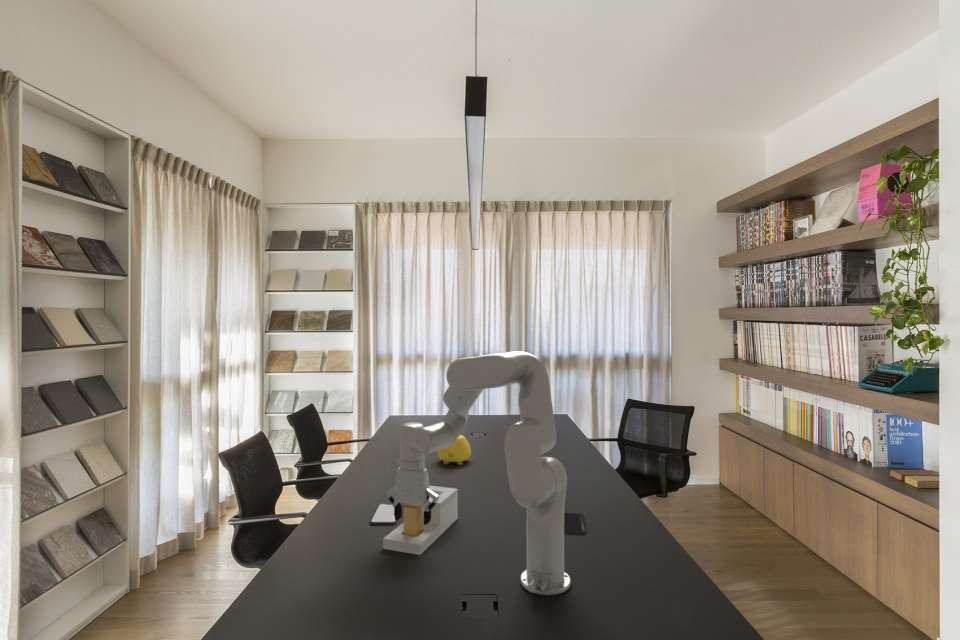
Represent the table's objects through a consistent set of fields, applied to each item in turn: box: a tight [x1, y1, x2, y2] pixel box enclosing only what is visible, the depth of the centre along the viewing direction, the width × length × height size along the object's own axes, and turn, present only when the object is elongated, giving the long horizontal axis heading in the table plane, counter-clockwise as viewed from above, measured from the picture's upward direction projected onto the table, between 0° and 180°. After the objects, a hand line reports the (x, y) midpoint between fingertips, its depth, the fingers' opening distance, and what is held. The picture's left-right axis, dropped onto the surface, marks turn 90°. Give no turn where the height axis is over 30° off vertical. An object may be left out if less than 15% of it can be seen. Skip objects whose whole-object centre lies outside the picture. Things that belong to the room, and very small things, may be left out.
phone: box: [564, 512, 587, 535], centre depth 167 cm, size 8×1×15 cm
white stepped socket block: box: [382, 485, 459, 556], centre depth 161 cm, size 28×12×10 cm, turn 160°
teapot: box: [437, 434, 472, 466], centre depth 238 cm, size 20×16×14 cm
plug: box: [403, 504, 422, 537], centre depth 154 cm, size 4×4×10 cm
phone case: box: [369, 503, 404, 526], centre depth 175 cm, size 9×2×16 cm
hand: (412, 520), depth 154 cm, fingers open, 9 cm apart
